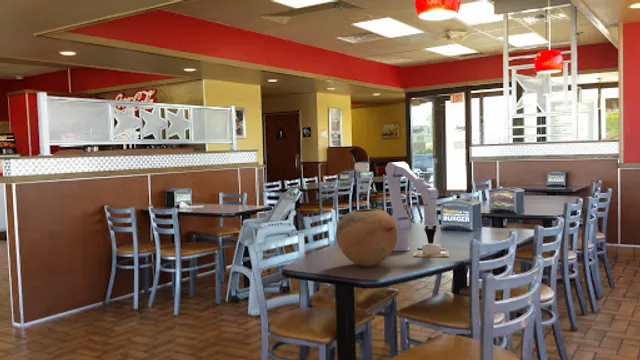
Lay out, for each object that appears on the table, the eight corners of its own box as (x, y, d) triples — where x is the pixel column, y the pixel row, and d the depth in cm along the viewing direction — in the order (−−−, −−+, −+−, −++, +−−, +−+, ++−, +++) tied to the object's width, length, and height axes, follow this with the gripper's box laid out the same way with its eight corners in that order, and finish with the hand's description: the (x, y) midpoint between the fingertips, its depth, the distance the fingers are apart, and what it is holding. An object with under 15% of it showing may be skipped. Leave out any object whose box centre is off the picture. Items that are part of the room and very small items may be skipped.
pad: (413, 257, 261) (413, 255, 261) (414, 253, 271) (414, 251, 271) (448, 257, 258) (448, 255, 258) (448, 253, 268) (448, 251, 268)
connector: (417, 254, 264) (417, 245, 264) (417, 252, 268) (417, 244, 267) (446, 254, 261) (445, 245, 261) (445, 252, 265) (445, 244, 265)
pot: (320, 266, 248) (318, 210, 246) (361, 256, 266) (359, 204, 265) (375, 276, 225) (373, 214, 224) (415, 264, 244) (413, 207, 243)
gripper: (438, 215, 256) (439, 244, 256) (439, 211, 270) (439, 239, 270) (423, 215, 257) (423, 244, 258) (424, 211, 271) (424, 239, 272)
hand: (430, 242), depth 264 cm, fingers open, 7 cm apart
